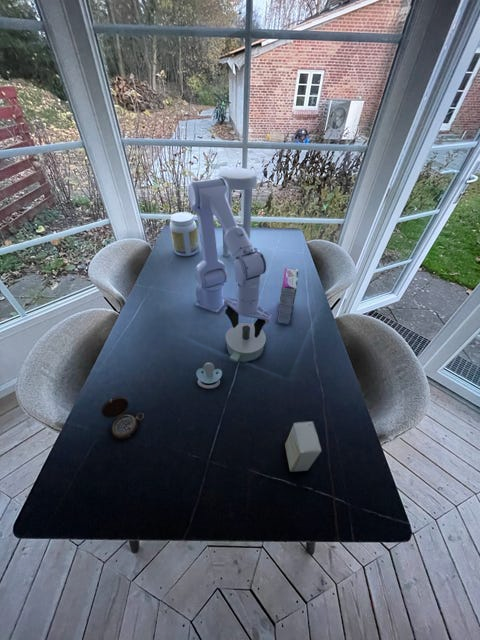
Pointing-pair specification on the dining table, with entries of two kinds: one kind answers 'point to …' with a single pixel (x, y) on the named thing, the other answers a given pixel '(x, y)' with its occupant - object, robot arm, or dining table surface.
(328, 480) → the dining table surface
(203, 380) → the pacifier
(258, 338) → the lid
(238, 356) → the grey-green ring with tabs
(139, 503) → the dining table surface
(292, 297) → the candy bar box
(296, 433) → the cosmetic box
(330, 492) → the dining table surface
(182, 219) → the supplement tub
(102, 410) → the compass
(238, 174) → the stool
